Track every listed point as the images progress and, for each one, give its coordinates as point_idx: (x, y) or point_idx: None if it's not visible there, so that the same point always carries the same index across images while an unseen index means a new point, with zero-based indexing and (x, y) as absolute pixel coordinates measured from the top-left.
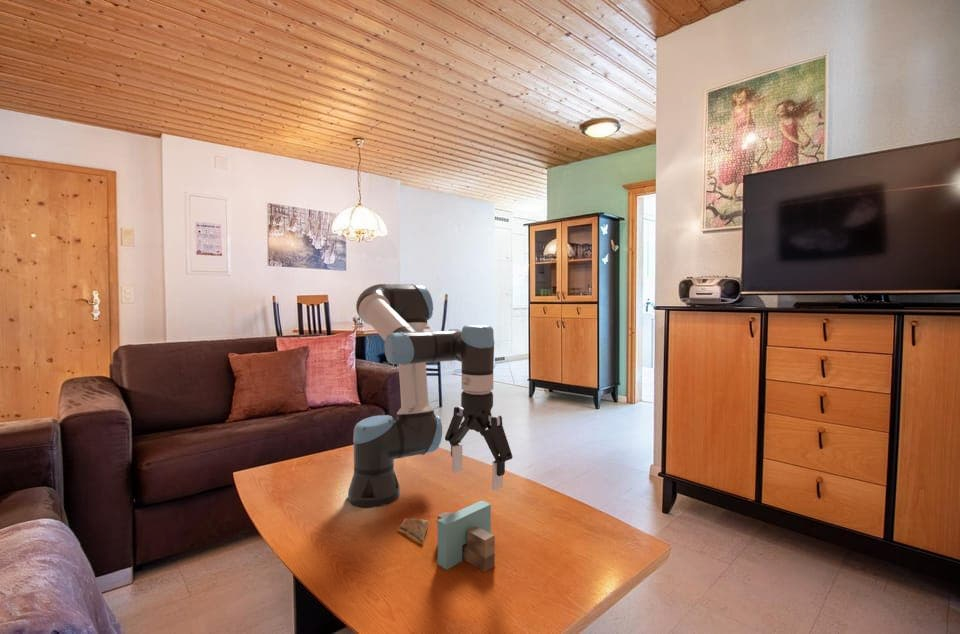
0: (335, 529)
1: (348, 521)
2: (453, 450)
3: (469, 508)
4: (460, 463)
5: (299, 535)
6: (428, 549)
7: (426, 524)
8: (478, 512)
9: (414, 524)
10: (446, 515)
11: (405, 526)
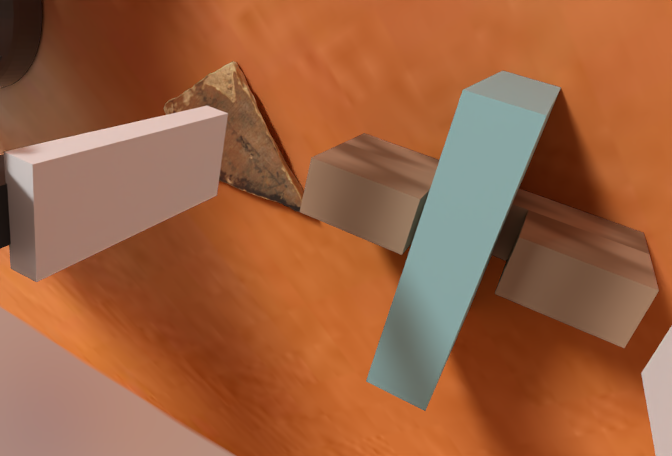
0: None
1: None
2: (64, 261)
3: (444, 224)
4: (187, 145)
5: (40, 288)
6: None
7: (245, 100)
8: (505, 216)
9: None
10: (332, 197)
11: None
